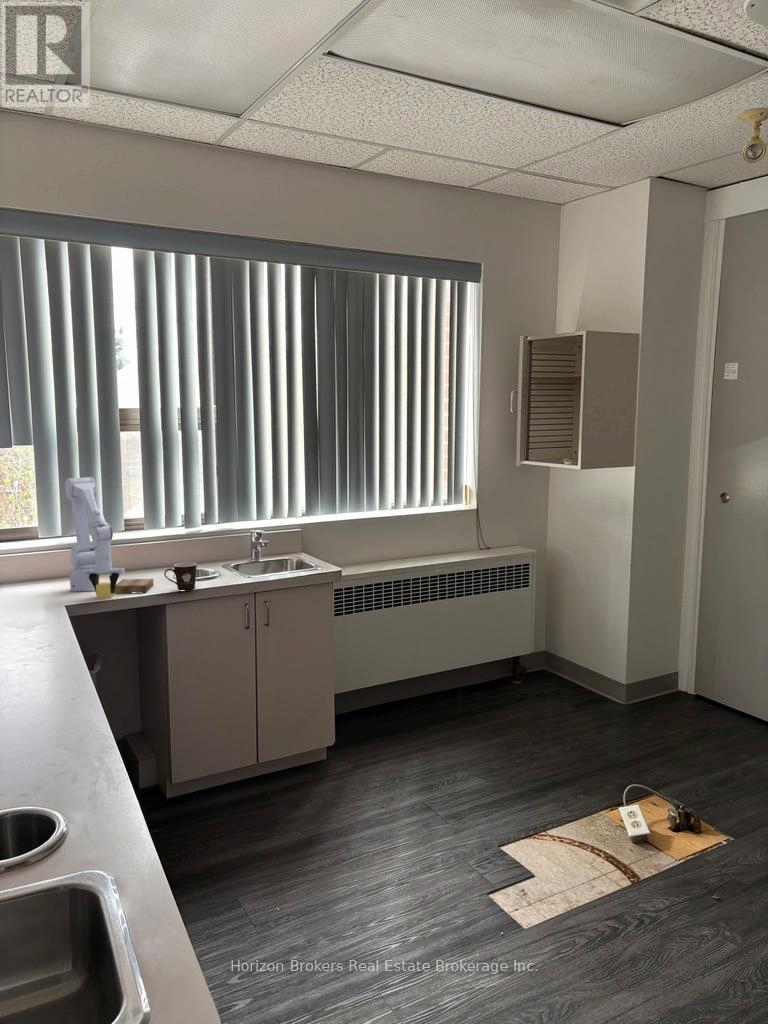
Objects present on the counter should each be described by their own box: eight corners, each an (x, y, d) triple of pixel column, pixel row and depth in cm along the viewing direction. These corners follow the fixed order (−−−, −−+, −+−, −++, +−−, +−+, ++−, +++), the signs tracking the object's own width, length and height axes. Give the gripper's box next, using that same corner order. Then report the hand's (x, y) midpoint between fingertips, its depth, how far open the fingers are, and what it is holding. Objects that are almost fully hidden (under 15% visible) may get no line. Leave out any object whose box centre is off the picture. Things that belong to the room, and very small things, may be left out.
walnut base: (114, 593, 296) (114, 586, 296) (123, 586, 308) (122, 579, 308) (146, 592, 297) (145, 585, 297) (153, 586, 309) (153, 578, 309)
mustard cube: (96, 598, 289) (95, 585, 288) (100, 595, 294) (99, 582, 293) (110, 598, 289) (109, 585, 288) (114, 595, 294) (113, 582, 293)
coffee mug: (200, 587, 305) (199, 562, 304) (193, 592, 297) (192, 566, 296) (172, 587, 307) (171, 562, 305) (164, 592, 298) (162, 566, 297)
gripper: (79, 560, 285) (82, 596, 287) (119, 559, 286) (121, 595, 288) (86, 556, 292) (88, 591, 294) (125, 555, 293) (126, 590, 295)
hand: (105, 593), depth 291 cm, fingers closed on mustard cube, 5 cm apart
